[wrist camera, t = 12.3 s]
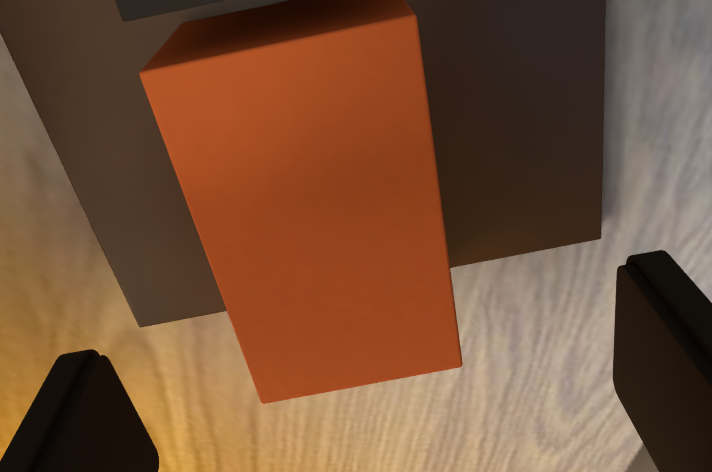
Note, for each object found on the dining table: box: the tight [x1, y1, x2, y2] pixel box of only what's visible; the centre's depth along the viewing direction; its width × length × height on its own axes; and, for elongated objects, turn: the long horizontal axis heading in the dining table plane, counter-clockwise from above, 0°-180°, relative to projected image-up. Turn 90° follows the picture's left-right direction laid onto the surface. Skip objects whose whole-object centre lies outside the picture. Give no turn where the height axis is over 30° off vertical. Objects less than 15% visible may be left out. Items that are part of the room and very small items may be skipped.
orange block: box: [140, 0, 463, 404], centre depth 18 cm, size 6×10×5 cm, turn 11°
